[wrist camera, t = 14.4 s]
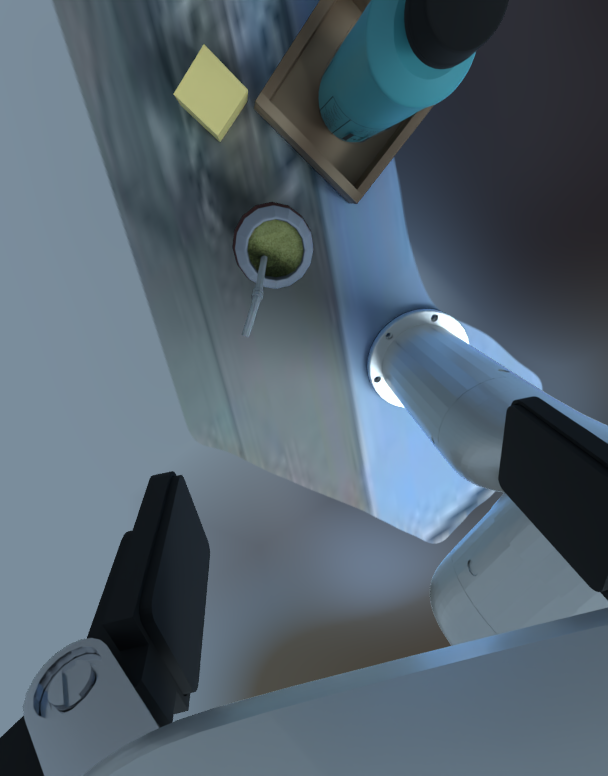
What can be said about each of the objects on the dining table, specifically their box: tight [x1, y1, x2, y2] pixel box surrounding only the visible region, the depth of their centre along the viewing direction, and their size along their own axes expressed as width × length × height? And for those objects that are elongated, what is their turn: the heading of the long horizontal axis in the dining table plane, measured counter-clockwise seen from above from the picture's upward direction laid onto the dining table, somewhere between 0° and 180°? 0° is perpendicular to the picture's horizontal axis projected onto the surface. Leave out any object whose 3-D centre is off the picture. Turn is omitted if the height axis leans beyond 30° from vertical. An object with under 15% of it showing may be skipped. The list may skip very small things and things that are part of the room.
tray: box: [254, 0, 434, 204], centre depth 32 cm, size 12×12×3 cm
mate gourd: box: [233, 202, 314, 337], centre depth 31 cm, size 8×8×15 cm
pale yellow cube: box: [174, 45, 248, 142], centre depth 31 cm, size 4×4×4 cm
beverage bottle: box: [319, 0, 509, 144], centre depth 24 cm, size 6×7×20 cm
